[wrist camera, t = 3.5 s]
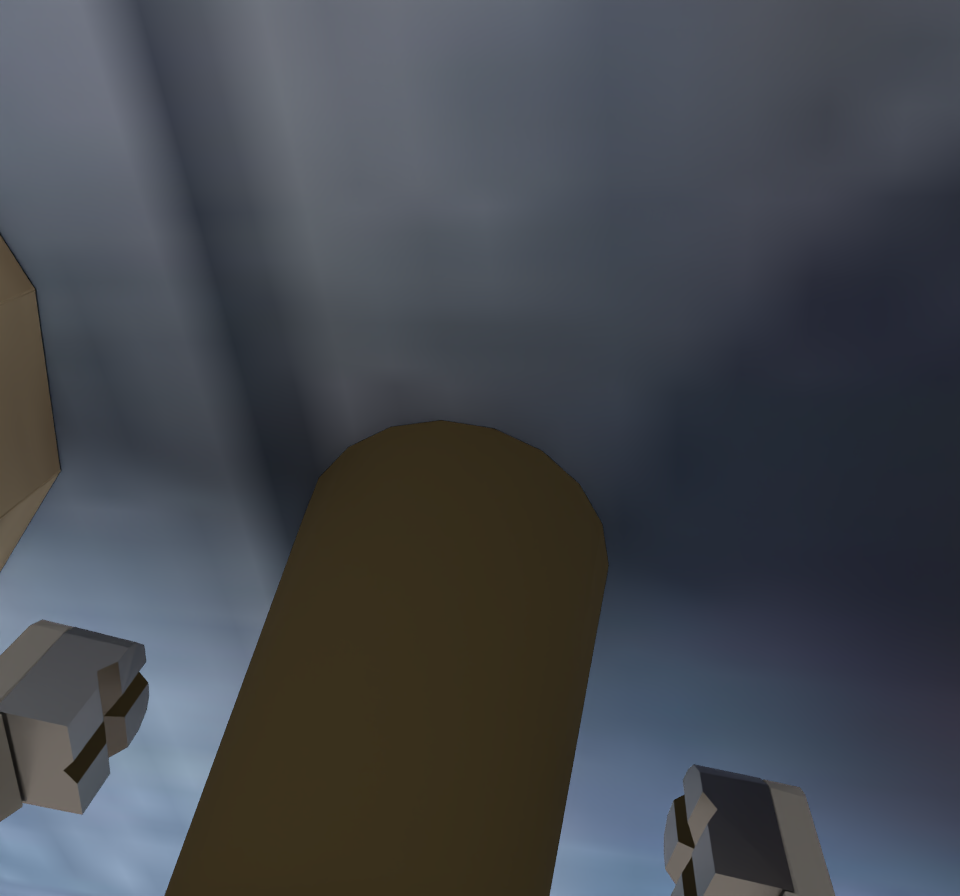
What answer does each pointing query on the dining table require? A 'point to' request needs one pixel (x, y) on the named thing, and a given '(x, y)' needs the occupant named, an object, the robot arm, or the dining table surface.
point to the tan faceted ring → (22, 407)
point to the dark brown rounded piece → (411, 681)
